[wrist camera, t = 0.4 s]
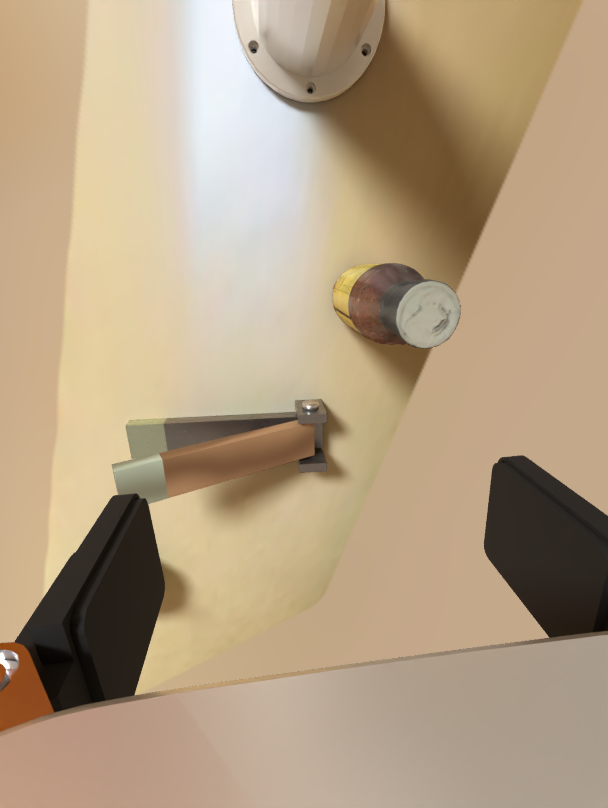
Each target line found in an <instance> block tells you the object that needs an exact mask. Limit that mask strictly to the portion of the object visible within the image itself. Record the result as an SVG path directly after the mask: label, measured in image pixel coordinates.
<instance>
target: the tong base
mask: <svg viewBox="0 0 608 808" xmlns="http://www.w3.org/2000/svg"><path fill="white" fill-rule="evenodd" d="M295 410H296V412H286V413H266V414H246V415H226V416H207V417H187V418H167V419H147V420H130V421H129V422H128V423H127V424H126V431H127V436H128V442H129V447H130V452H131V458H132V459H135V458H141V457H145V456H149V455H153V454H158V453H162V452H166V451H170V450H174V449H178V448H183V447H187V446H191V445H195V444H199V443H203V442H208V441H212V440H216V439H220V438H224V437H228V436H233V435H237V434H241V433H245V432H249V431H253V430H258V429H262V428H266V427H270V426H274V425H278V424H283V423H287V422H291V421H295V420H298V424H310V423H314V447H315V455H313V456H310V457H306V458H303V459H299V460H298V466H299V472H300V473H304V472H320V471H327V462H326V459H325V456H324V453H323V449H322V448H323V423H327V413H326V410H325V408H324V405H323V403H322V400H321V399H318V400H297V401H295Z"/></svg>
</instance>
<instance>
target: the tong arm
mask: <svg viewBox="0 0 608 808" xmlns="http://www.w3.org/2000/svg"><path fill="white" fill-rule="evenodd" d="M313 455H315V447H314V423H310V424H298V420H295V421H291V422H287V423H283V424H278V425H274V426H270V427H266V428H262V429H258V430H253V431H249V432H245V433H241V434H237V435H233V436H228V437H224V438H220V439H216V440H212V441H208V442H203V443H199V444H195V445H191V446H187V447H183V448H178V449H174V450H170V451H166V452H162V453H158V454H153V455H149V456H145V457H141V458H137V459H133V460H128V461H124V462H120V463H116V464H112V468H113V473H114V478H115V483H116V488H117V492H118V495H124V494H134V493H137V494H138V495H139V496H140V498H146V500H147V502H148V504H150V503H153V502H157V501H160V500H163V499H167V498H170V497H174V496H177V495H180V494H184V493H187V492H191V491H194V490H197V489H201V488H204V487H208V486H211V485H214V484H218V483H221V482H225V481H228V480H231V479H235V478H238V477H242V476H245V475H248V474H252V473H255V472H259V471H262V470H265V469H269V468H272V467H276V466H279V465H282V464H286V463H289V462H293V461H296V460H299V459H303V458H306V457H310V456H313Z"/></svg>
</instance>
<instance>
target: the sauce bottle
mask: <svg viewBox="0 0 608 808" xmlns="http://www.w3.org/2000/svg"><path fill="white" fill-rule="evenodd" d="M333 306H334V309H335V311H336V313H337V315H338V316H339V318H340V319H341V320H342V321H343V322H344V323H346V324H347V325H349V326H350V327H352V328H353V329H355V330H356V331H357V332H359V333H360V334H362V335H363V336H365V337H367V338H369V339H371V340H373V341H375V342H377V343H381V344H390V345H393V344H402V345H403V344H408V345H410V346H413V347H417V348H422V349H427V348H432V347H436V346H439V345H440V344H442V343H443V342H445V341H446V340H448V339H449V338H450V337H451V335H452V334H453V332H454V330H455V329H456V327H457V325H458V322H459V319H460V314H461V313H460V308H461V305H460V302H459V299H458V297H457V295H456V293H455V292H454V291H453V290H452V289H451V288H450V287H449V286H448V285H447V284H445V283H442V282H439V281H434V280H428V279H424V278H423V277H422V276H421V275H420V274H419V273H418V272H417V271H416V270H414V269H412V268H411V267H408V266H405V265H402V264H396V263H386V264H369V265H359V266H355V267H352V268H350V269H349V270H347V271H346V272H344V273H343V274H342V275H341V277H340V278H339V279H338V281H337V282H336V283H335V285H334V290H333Z"/></svg>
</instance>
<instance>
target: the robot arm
mask: <svg viewBox="0 0 608 808" xmlns="http://www.w3.org/2000/svg"><path fill="white" fill-rule="evenodd" d="M232 5H233V15H234V22H235V26H236V31H237V36H238V39H239V42H240V44H241V47H242V50H243V52H244V55H245V56H246V58H247V60H248V62H249V63H250V65H251V67H252V69H253V70H254V71H255V72H256V73H257V75H258V76H259V77H260V78H261V80H262V81H263V82H265V83H266V84H267V85H268V86H269V87H270V88H272V89H273V90H274V91H276V92H277V93H279V94H281V95H283V96H285V97H286V98H289V99H293V100H296V101H299V102H311V103H314V102H320V101H326V100H329V99H331V98H334V97H336V96H339V95H340V94H342V93H343V92H345V91H346V90H348V89H349V88H351V87H352V86H353V84H354V83H355V82H356V81H357V80H358V79H359V78H360V77H361V76H362V74H363V73H364V71H365V70H366V68H367V67H368V65H369V64H370V62H371V60H372V58H373V57H374V54H375V52H376V49H377V47H378V44H379V41H380V38H381V34H382V29H383V24H384V19H385V0H232ZM252 49H256V51H257V52H256V53H251V50H252ZM363 51H364V52H365V53H366V56H364V55H363V54H362V52H363ZM308 89H311V90H312V91H313V93H312V94H309V93H308V92H307V90H308ZM491 477H492V478H491V485H490V495H489V503H488V513H487V521H486V530H485V539H484V549H485V553H486V555H487V557H488V558H489V560H490V561H491V563H492V564H493V565H494V566H495V568H496V569H497V570H498V572H499V573H500V574H501V575H502V577H503V578H504V579H505V580H506V582H507V583H508V585H509V586H510V587H511V588H512V590H513V591H514V592H515V593H516V595H517V596H518V597H519V599H520V600H521V601H522V602H523V604H524V605H525V606H526V608H527V609H528V610H529V612H530V613H531V614H532V615H533V617H534V618H535V619H536V621H537V622H538V623H539V624H540V626H541V627H542V628H543V630H544V631H545V632H546V634H547V635H548V636H549V637H550V638H544V639H537V640H529V641H522V642H514V643H505V644H498V645H490V646H483V647H474V648H466V649H459V650H452V651H444V652H437V653H429V654H422V655H415V656H407V657H399V658H392V659H385V660H377V661H370V662H363V663H355V664H348V665H340V666H333V667H326V668H319V669H312V670H305V671H297V672H290V673H284V674H276V675H269V676H262V677H255V678H248V679H241V680H234V681H226V682H220V683H212V684H205V685H199V686H192V687H185V688H179V689H172V690H166V691H159V692H152V693H146V694H141V695H135V696H134V694H135V691H136V688H137V684H138V681H139V678H140V674H141V671H142V667H143V664H144V661H145V657H146V654H147V651H148V647H149V644H150V641H151V637H152V634H153V631H154V627H155V624H156V620H157V617H158V614H159V610H160V607H161V604H162V600H163V597H164V591H165V582H164V577H163V572H162V567H161V562H160V558H159V553H158V548H157V544H156V539H155V534H154V529H153V525H152V520H151V515H150V511H149V506H148V502H147V500H146V498H140V496H139V495H138V494H137V493H134V494H124V495H115V496H113V497H112V498H111V499H110V501H109V502H108V504H107V505H106V507H105V508H104V510H103V511H102V513H101V515H100V516H99V518H98V519H97V521H96V522H95V524H94V525H93V527H92V528H91V530H90V531H89V533H88V535H87V536H86V538H85V539H84V541H83V542H82V544H81V545H80V547H79V548H78V550H77V551H76V552H75V553H74V554H73V555H72V556H71V557H70V558H69V560H68V561H67V563H66V564H65V566H64V567H63V569H62V571H61V572H60V574H59V575H58V577H57V578H56V580H55V581H54V583H53V584H52V586H51V587H50V589H49V590H48V592H47V593H46V595H45V596H44V598H43V599H42V601H41V602H40V604H39V606H38V607H37V608H36V610H35V612H34V613H33V614H32V616H31V618H30V619H29V621H28V622H27V624H26V625H25V627H24V628H23V630H22V631H21V633H20V634H19V636H18V637H17V639H16V640H15V642H10V643H9V642H8V643H0V808H608V516H607V515H605V514H604V513H603V512H601V511H600V510H599V509H597V508H596V507H595V506H593V505H592V504H590V503H589V502H588V501H586V500H585V499H584V498H582V497H581V496H579V495H578V494H577V493H575V492H574V491H572V490H571V489H569V488H568V487H567V486H565V485H564V484H563V483H561V482H560V481H559V480H557V479H556V478H554V477H553V476H551V475H550V474H549V473H547V472H546V471H545V470H543V469H542V468H541V467H539V466H538V465H536V464H535V463H534V462H532V461H531V460H529V459H528V458H526V457H525V456H512V457H502V458H500V459H499V461H498V463H495V464H494V466H493V469H492V476H491Z"/></svg>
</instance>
